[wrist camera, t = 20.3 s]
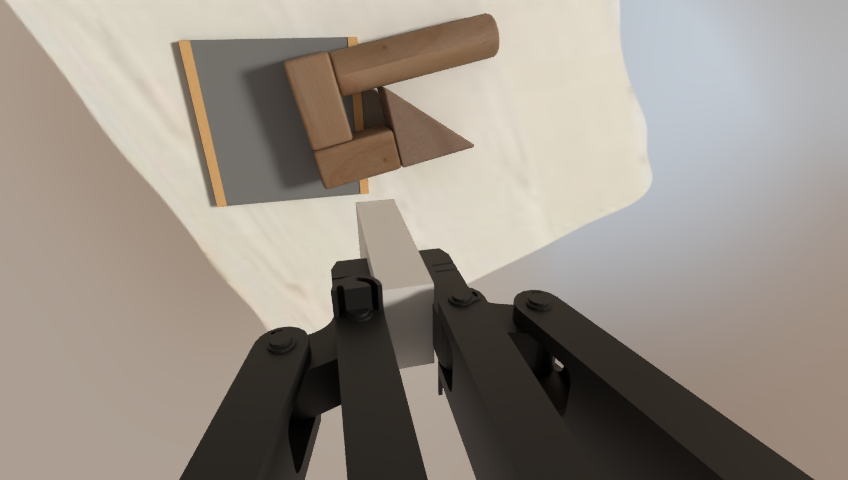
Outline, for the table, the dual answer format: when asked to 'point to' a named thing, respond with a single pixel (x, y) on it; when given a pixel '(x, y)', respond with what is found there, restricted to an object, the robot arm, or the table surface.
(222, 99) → the mat
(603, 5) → the table surface
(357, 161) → the wooden block assembly
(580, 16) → the table surface
